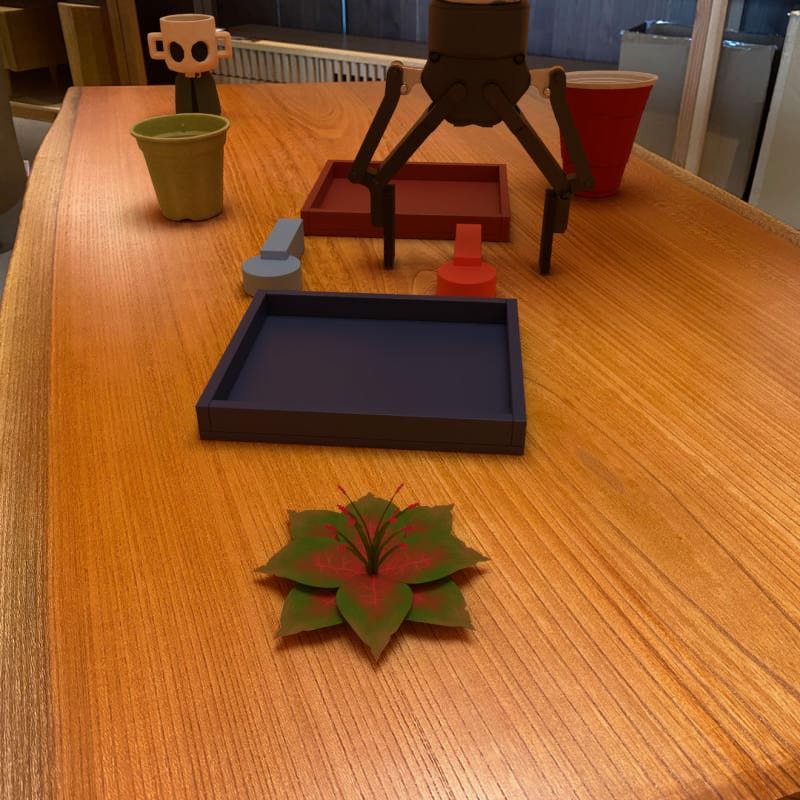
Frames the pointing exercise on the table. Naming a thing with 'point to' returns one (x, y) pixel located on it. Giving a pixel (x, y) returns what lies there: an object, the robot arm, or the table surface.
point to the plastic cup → (606, 122)
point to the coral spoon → (467, 267)
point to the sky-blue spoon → (277, 260)
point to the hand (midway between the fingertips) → (466, 264)
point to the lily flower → (372, 569)
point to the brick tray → (413, 201)
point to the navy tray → (371, 373)
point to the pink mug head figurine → (192, 59)
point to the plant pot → (185, 162)
